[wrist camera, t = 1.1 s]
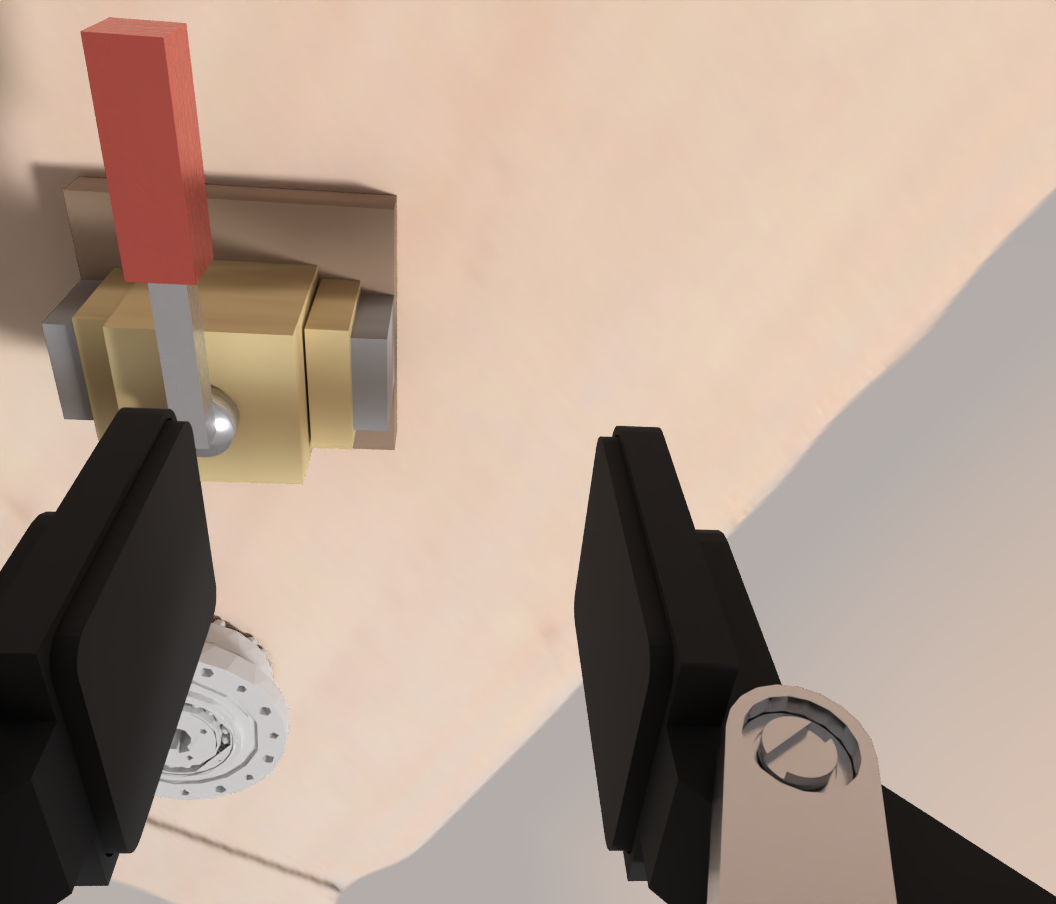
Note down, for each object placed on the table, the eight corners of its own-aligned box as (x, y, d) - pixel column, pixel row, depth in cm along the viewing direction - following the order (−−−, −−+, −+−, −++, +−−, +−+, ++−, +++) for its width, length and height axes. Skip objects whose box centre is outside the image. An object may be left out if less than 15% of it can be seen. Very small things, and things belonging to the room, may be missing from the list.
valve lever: (242, 441, 29) (225, 486, 27) (179, 438, 29) (157, 484, 27) (195, 20, 22) (167, 37, 20) (112, 13, 22) (76, 31, 20)
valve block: (78, 176, 32) (-11, 252, 26) (396, 195, 33) (381, 272, 27) (126, 420, 37) (61, 528, 31) (396, 430, 38) (384, 537, 32)
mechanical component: (12, 693, 39) (224, 639, 38) (51, 621, 43) (245, 569, 42) (130, 823, 45) (319, 779, 44) (155, 749, 48) (330, 706, 47)
